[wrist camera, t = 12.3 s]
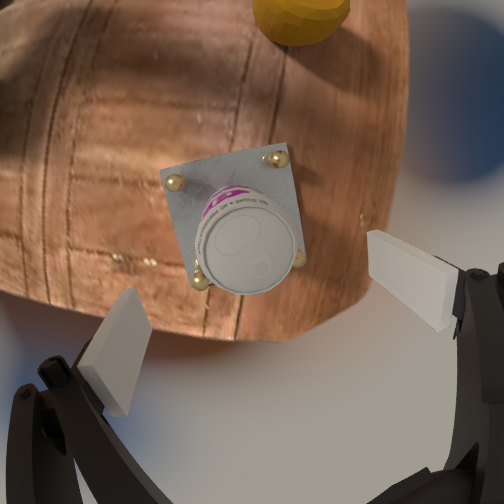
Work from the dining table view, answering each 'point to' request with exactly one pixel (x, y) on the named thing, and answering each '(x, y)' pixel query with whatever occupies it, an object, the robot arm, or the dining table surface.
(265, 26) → the apple
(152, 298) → the dining table surface
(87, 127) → the dining table surface
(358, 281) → the dining table surface
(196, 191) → the plate
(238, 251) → the supplement can
